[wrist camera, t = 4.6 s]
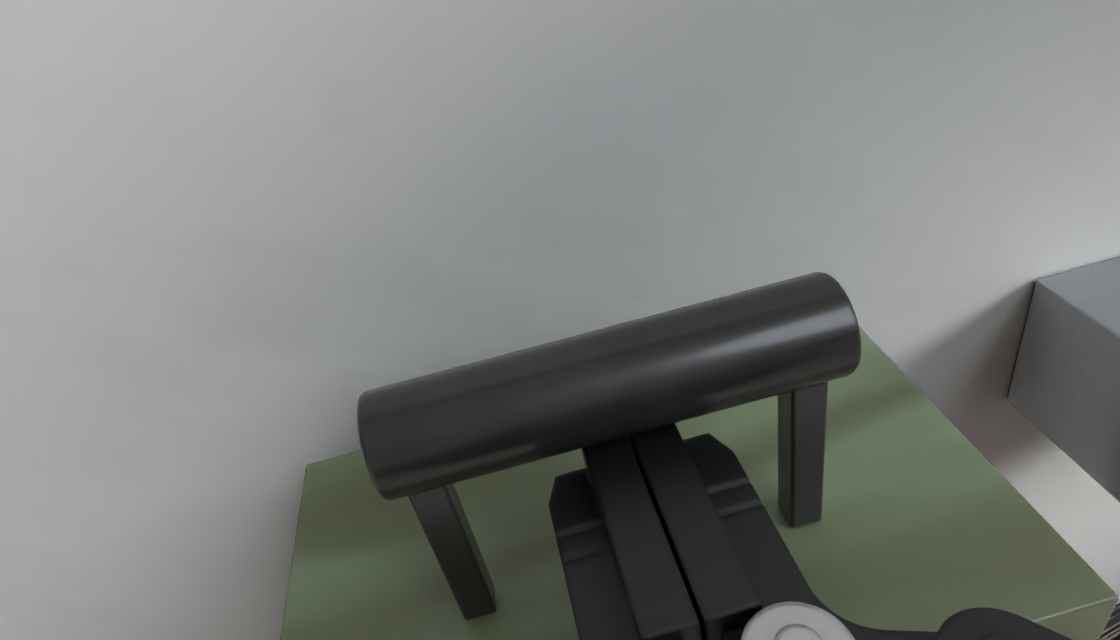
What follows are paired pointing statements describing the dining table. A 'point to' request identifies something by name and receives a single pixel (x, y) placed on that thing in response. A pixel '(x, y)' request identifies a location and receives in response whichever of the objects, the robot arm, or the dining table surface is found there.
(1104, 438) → the black lidded box
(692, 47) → the dining table surface
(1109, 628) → the lighter
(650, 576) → the robot arm
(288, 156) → the dining table surface
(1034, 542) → the drawer
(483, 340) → the dining table surface
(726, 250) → the dining table surface
